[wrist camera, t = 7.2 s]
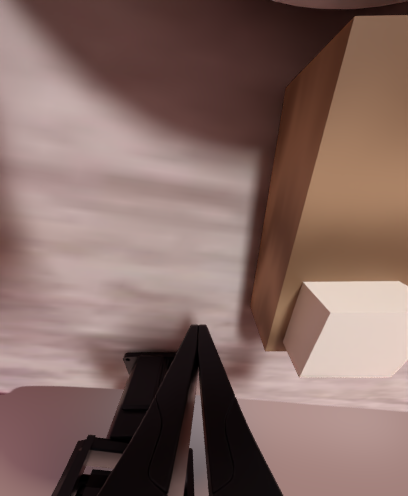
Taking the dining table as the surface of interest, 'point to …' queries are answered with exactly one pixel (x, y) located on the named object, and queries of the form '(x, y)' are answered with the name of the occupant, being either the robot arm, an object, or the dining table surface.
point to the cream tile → (349, 329)
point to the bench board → (338, 173)
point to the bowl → (339, 3)
